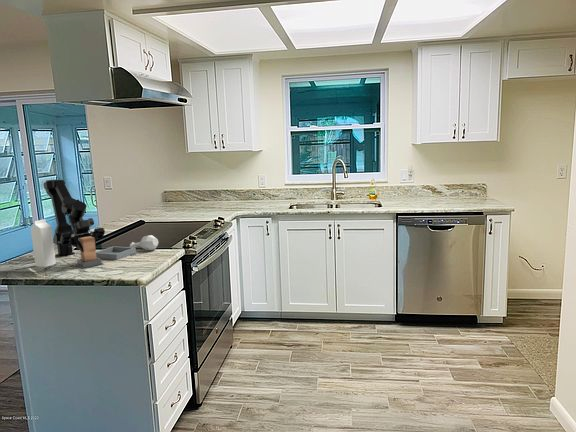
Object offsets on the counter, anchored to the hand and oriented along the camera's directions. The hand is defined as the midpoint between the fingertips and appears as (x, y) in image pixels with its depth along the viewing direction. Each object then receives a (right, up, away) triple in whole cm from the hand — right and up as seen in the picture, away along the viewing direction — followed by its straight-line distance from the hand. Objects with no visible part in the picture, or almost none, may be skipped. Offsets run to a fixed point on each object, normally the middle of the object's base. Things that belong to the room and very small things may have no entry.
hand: (89, 250), depth 197 cm
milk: (-22, -8, +4) cm, 24 cm away
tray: (+5, -5, +18) cm, 19 cm away
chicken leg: (+14, -2, +32) cm, 35 cm away
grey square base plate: (-1, -7, +2) cm, 8 cm away
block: (-1, -6, +2) cm, 6 cm away
